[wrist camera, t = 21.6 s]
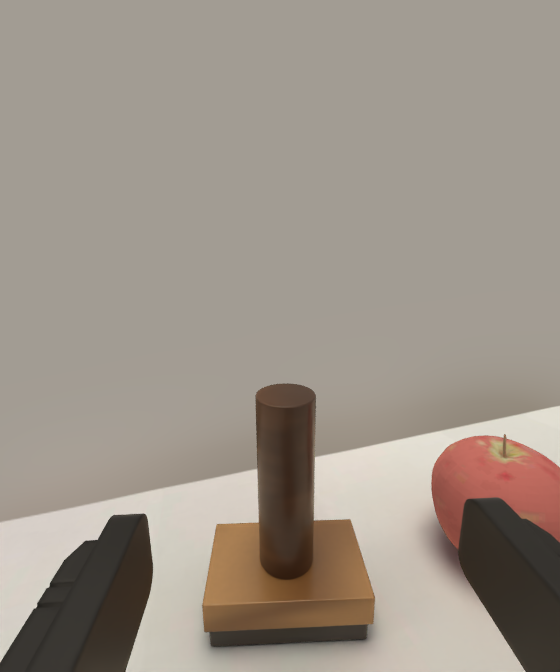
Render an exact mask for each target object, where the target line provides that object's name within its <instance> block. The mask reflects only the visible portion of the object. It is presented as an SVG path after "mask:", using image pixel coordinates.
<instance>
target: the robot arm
mask: <svg viewBox="0 0 560 672" xmlns="http://www.w3.org/2000/svg"><path fill="white" fill-rule="evenodd" d="M458 553H459V560H460V564H461V567H462V570H463V572H464V574H465V576H466V578H467V580H468V581H469V583H470V584H471V586H472V588H473V589H474V591H475V592H476V594H477V595H478V597H479V599H480V600H481V602H482V603H483V605H484V607H485V608H486V610H487V611H488V613H489V614H490V616H491V618H492V619H493V621H494V622H495V624H496V625H497V627H498V629H499V630H500V632H501V633H502V635H503V636H504V638H505V640H506V641H507V643H508V644H509V646H510V648H511V649H512V651H513V652H514V654H515V655H516V657H517V659H518V660H519V662H520V663H521V665H522V666H523V668H524V670H525V671H526V672H560V542H558V541H557V540H556V539H555V538H554V537H553V536H552V535H551V534H550V533H548V532H547V531H545V530H544V529H542V528H540V527H539V526H537V525H536V524H534V523H533V522H531V521H529V520H528V519H522V518H521V517H520V516H519V515H518V514H517V513H516V512H515V511H514V510H513V509H512V508H511V507H510V506H509V505H508V504H507V503H506V502H505V501H504V500H502V499H501V498H498V497H493V498H472V499H467V500H466V501H465V503H464V508H463V516H462V523H461V531H460V539H459V547H458ZM152 576H153V562H152V554H151V545H150V536H149V527H148V519H147V516H146V515H145V514H128V515H113V516H112V517H111V518H110V519H109V520H108V522H107V524H106V526H105V528H104V529H103V531H102V533H101V535H100V537H99V538H98V540H91V541H85V542H84V543H83V544H81V545H80V546H79V547H78V548H77V549H76V550H75V551H74V552H73V553H72V554H71V555H70V556H68V557H67V558H66V559H65V560H64V562H63V563H62V565H61V566H60V568H59V570H58V571H57V573H56V574H55V576H54V578H53V579H52V581H51V582H50V587H49V588H47V589H46V590H45V592H44V594H43V595H42V597H41V598H40V600H39V602H38V603H37V608H36V609H34V610H33V611H32V613H31V614H30V616H29V618H28V619H27V621H26V622H25V624H24V626H23V627H22V629H21V630H20V632H19V634H18V635H17V637H16V638H15V640H14V642H13V643H12V645H11V646H10V648H9V650H8V651H7V653H6V654H5V656H4V658H3V659H2V661H1V662H0V672H125V670H126V667H127V664H128V661H129V658H130V655H131V651H132V648H133V645H134V642H135V639H136V636H137V633H138V629H139V626H140V623H141V620H142V617H143V614H144V610H145V607H146V604H147V601H148V598H149V594H150V590H151V584H152Z"/></svg>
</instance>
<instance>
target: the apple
mask: <svg viewBox="0 0 560 672" xmlns="http://www.w3.org/2000/svg"><path fill="white" fill-rule="evenodd" d="M431 484H432V496H433V502H434V507H435V511H436V515H437V518H438V520H439V523H440V525H441V527H442V529H443V530H444V532H445V534H446V536H447V537H448V539H449V540H450V541H451V543H452V544H453V545H454V546H455V547H456V548H457V549H458V547H459V539H460V531H461V523H462V516H463V508H464V503H465V501H466V500H467V499H472V498H493V497H498V498H501V499H502V500H504V501H505V502H506V503H507V504H508V505H509V506H510V507H511V508H512V509H513V510H514V511H515V512H516V513H517V514H518V515H519V516H520V517H521V518H522V519H528V520H529V521H531V522H533V523H534V524H536V525H537V526H539V527H540V528H542V529H544V530H545V531H547V532H548V533H550V534H551V535H552V536H553V537H554V538H555V539H556V540H557V541H558V542H560V468H559V467H558V466H557V465H556V464H555V463H553V462H552V461H551V460H549V459H548V458H547V457H545V456H544V455H542V454H540V453H539V452H537V451H535V450H533V449H531V448H529V447H527V446H525V445H523V444H520V443H518V442H515V441H512V440H509V439H506V435H505V434H504V438H501V437H496V436H474V437H470V438H466V439H462V440H460V441H458V442H456V443H453V444H451V445H450V446H448V447H447V448H446V449H445V450H444V452H443V453H442V454H441V455H440V456H439V458H438V459H437V461H436V463H435V465H434V468H433V472H432V483H431Z"/></svg>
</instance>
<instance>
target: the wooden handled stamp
mask: <svg viewBox="0 0 560 672" xmlns="http://www.w3.org/2000/svg"><path fill="white" fill-rule="evenodd" d="M315 403H316V395H315V393H314V392H313V391H312V390H311V389H310V388H308V387H305V386H302V385H297V384H276V385H270V386H267V387H264V388H262V389H260V390H259V391H258V392H257V394H256V430H257V465H258V466H257V468H258V506H259V523H238V524H217V525H216V531H215V537H214V542H213V548H212V554H211V559H210V565H209V571H208V576H207V582H206V588H205V593H204V599H203V605H202V607H203V621H204V631H205V632H210V642H211V646H231V645H252V644H272V643H292V642H313V641H333V640H353V639H366V636H367V624H373V618H374V604H375V596H374V593H373V590H372V587H371V584H370V580H369V577H368V574H367V571H366V568H365V565H364V561H363V558H362V555H361V552H360V549H359V545H358V542H357V539H356V536H355V533H354V529H353V526H352V523H351V520H350V519H347V520H320V521H314V468H315V408H316V406H315Z"/></svg>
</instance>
